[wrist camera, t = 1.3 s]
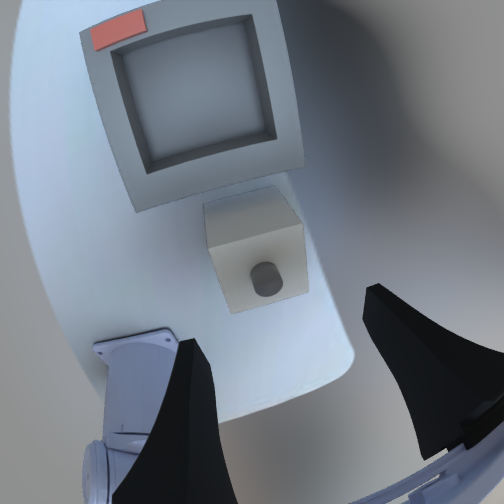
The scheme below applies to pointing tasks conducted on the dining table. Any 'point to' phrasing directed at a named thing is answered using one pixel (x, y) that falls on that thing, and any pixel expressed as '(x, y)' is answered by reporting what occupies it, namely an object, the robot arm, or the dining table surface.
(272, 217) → the plug
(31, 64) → the dining table surface
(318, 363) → the dining table surface
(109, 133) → the socket plate
